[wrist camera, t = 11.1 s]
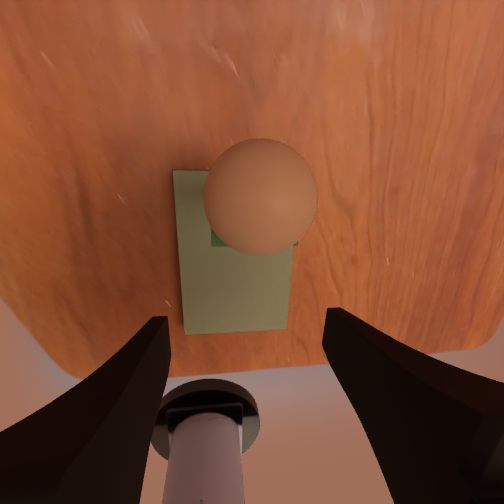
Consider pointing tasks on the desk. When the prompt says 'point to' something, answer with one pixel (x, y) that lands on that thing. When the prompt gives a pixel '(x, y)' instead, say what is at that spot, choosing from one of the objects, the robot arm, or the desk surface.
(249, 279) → the toy stand
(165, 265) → the desk surface
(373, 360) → the robot arm
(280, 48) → the desk surface
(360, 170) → the desk surface
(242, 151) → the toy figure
